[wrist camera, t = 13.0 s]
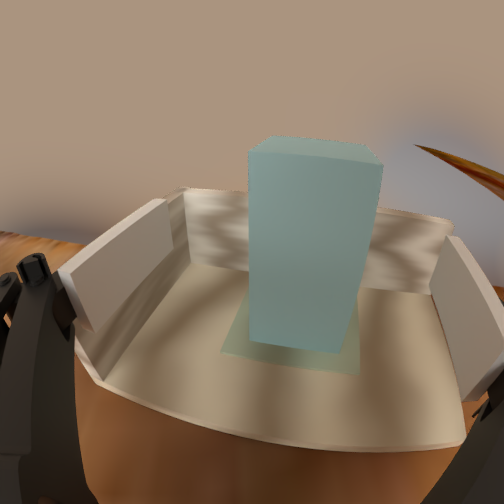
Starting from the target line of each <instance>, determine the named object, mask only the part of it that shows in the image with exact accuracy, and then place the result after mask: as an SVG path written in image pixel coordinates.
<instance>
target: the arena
mask: <svg viewBox="0 0 504 504" xmlns="http://www.w3.org/2000/svg"><path fill="white" fill-rule="evenodd" d="M162 199H167V203H168V211H169V219H170V226H171V234H172V241H173V247H174V249H173V250H172V251H171V252H170V253H169V254H168V255H167V256H166V257H165V258H164V259H163V260H162V261H161V262H160V263H159V264H158V265H157V266H156V267H155V268H154V270H153V271H152V272H151V273H150V274H149V275H148V276H147V277H146V278H145V279H144V280H143V281H142V282H141V283H140V285H139V286H138V287H137V288H136V289H135V290H134V291H133V292H132V293H131V294H130V295H129V297H128V298H127V299H126V300H125V301H124V302H123V303H122V304H121V305H120V307H119V308H118V309H117V310H116V311H115V312H114V313H113V314H112V316H111V317H110V318H109V319H108V320H107V321H106V322H105V324H104V325H103V326H102V327H101V328H100V329H99V330H98V332H97V333H96V334H94V333H92V332H90V331H88V330H85V329H83V328H82V326H81V324H80V322H79V320H78V318H77V317H76V318H75V320H74V321H73V324H74V326H75V348H74V351H75V352H76V354H77V356H78V357H79V359H80V360H81V362H82V364H83V365H84V367H85V368H86V370H87V371H88V373H89V374H90V376H91V377H92V379H93V380H94V382H95V383H96V384H97V385H99V386H101V387H103V388H105V389H107V390H109V391H111V392H114V393H116V394H118V395H120V396H122V397H124V398H127V399H129V400H131V401H134V402H136V403H138V404H141V405H143V406H146V407H148V408H151V409H153V410H156V411H159V412H161V413H164V414H167V415H169V416H172V417H175V418H178V419H181V420H184V421H187V422H190V423H193V424H196V425H200V426H203V427H206V428H210V429H213V430H217V431H221V432H225V433H229V434H233V435H237V436H241V437H245V438H250V439H255V440H260V441H265V442H270V443H276V444H282V445H288V446H295V447H302V448H310V449H320V450H331V451H346V452H408V451H422V450H433V449H441V448H449V447H456V446H459V445H460V444H462V443H463V442H464V440H465V439H466V437H467V436H466V429H465V422H464V416H463V410H462V405H461V399H460V394H459V390H458V385H457V381H456V376H455V372H454V368H453V364H452V361H451V357H450V353H449V350H448V346H447V343H446V339H445V336H444V333H443V330H442V327H441V324H440V321H439V318H438V315H437V312H436V309H435V306H434V303H433V301H432V298H431V291H430V288H429V282H430V280H431V277H432V275H433V272H434V269H435V266H436V263H437V261H438V258H439V255H440V252H441V249H442V246H443V242H444V239H445V236H446V235H451V236H452V233H453V230H454V227H455V226H454V224H453V223H452V222H451V221H450V220H448V219H443V218H438V217H432V216H427V215H422V214H416V213H411V212H405V211H399V210H393V209H386V208H380V207H377V210H376V216H375V221H374V226H373V231H372V236H371V241H370V245H369V250H368V254H367V258H366V263H365V267H364V271H363V275H362V279H361V283H360V286H359V290H358V294H357V298H356V301H355V305H354V308H353V312H352V315H351V318H350V322H349V325H348V328H347V331H346V334H345V337H344V341H343V344H342V347H341V350H340V353H339V354H336V353H327V352H319V351H312V350H305V349H298V348H291V347H285V346H279V345H273V344H267V343H261V342H256V341H250V340H249V221H248V192H240V191H226V190H211V189H191V188H190V187H178V188H176V189H175V190H174V191H172V192H170V193H169V194H168V195H166V196H165V197H163V198H162Z"/></svg>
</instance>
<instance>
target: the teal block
mask: <svg viewBox="0 0 504 504" xmlns="http://www.w3.org/2000/svg"><path fill="white" fill-rule="evenodd" d="M382 173H383V164H382V163H381V162H380V161H379V160H378V158H377V157H376V156H375V155H374V154H373V153H372V152H371V151H370V149H369V148H368V147H367V146H366V145H361V144H353V143H347V142H339V141H330V140H321V139H311V138H300V137H286V136H271V137H270V138H268V139H267V140H265V141H263V142H262V143H260V144H259V145H257V146H256V147H254V148H253V149H251V150H249V151H248V221H249V340H250V341H256V342H261V343H267V344H273V345H279V346H285V347H291V348H298V349H305V350H312V351H319V352H327V353H336V354H339V353H340V350H341V347H342V344H343V341H344V337H345V334H346V331H347V328H348V325H349V322H350V318H351V315H352V312H353V308H354V305H355V301H356V298H357V294H358V290H359V286H360V283H361V279H362V275H363V271H364V267H365V263H366V258H367V254H368V250H369V245H370V241H371V236H372V231H373V226H374V221H375V216H376V210H377V205H378V199H379V193H380V187H381V180H382Z"/></svg>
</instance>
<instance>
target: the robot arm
mask: <svg viewBox="0 0 504 504" xmlns="http://www.w3.org/2000/svg"><path fill="white" fill-rule="evenodd" d="M173 249H174V247H173V241H172V234H171V226H170V219H169V211H168V203H167V199H153V200H151V201H150V202H149V203H147V204H145V205H144V206H142V207H141V208H139V209H138V210H136V211H135V212H134V213H132V214H131V215H129V216H128V217H126V218H125V219H123V220H122V221H120V222H119V223H118V224H116V225H115V226H113V227H112V228H111V229H109V230H108V231H106V232H105V233H104V234H102V235H101V236H100V237H98V238H97V239H96V240H94V241H93V242H92V243H90V244H89V245H88V246H86V247H85V248H84V249H82V250H81V251H80V252H79V253H77V254H76V255H75V256H73V257H72V258H71V259H70V260H68V261H67V262H66V263H65V264H64V265H62V266H61V267H60V268H59V269H57V271H56V272H54V273H53V274H51V272H50V269H49V266H48V264H47V261H46V258H45V255H44V254H43V253H34V254H31V255H29V256H27V257H25V258H23V259H22V260H21V261H20V262H19V263H18V264H17V266H16V267H17V269H18V271H19V274H20V276H21V279H22V281H23V283H20V281H19V278H18V276H17V274H16V273H15V272H10V273H5V274H3V275H2V276H1V277H0V504H98V502H97V500H96V498H95V496H94V495H93V494H92V492H91V491H90V490H89V488H88V486H87V483H86V479H85V474H84V469H83V464H82V458H81V451H80V444H79V437H78V428H77V418H76V405H75V383H74V348H75V326H74V324H73V321H74V320H75V318H76V317H77V318H78V320H79V322H80V324H81V326H82V328H83V329H85V330H88V331H90V332H92V333H94V334H96V333H97V332H98V330H99V329H100V328H101V327H102V326H103V325H104V324H105V322H106V321H107V320H108V319H109V318H110V317H111V316H112V314H113V313H114V312H115V311H116V310H117V309H118V308H119V307H120V305H121V304H122V303H123V302H124V301H125V300H126V299H127V298H128V297H129V295H130V294H131V293H132V292H133V291H134V290H135V289H136V288H137V287H138V286H139V285H140V283H141V282H142V281H143V280H144V279H145V278H146V277H147V276H148V275H149V274H150V273H151V272H152V271H153V270H154V268H155V267H156V266H157V265H158V264H159V263H160V262H161V261H162V260H163V259H164V258H165V257H166V256H167V255H168V254H169V253H170V252H171V251H172V250H173ZM429 288H430V291H431V293H432V296H433V299H434V302H435V305H436V307H437V310H438V313H439V316H440V320H441V323H442V326H443V329H444V332H445V336H446V339H447V343H448V346H449V350H450V354H451V357H452V361H453V365H454V370H455V374H456V378H457V383H458V388H459V393H460V398H461V402H467V401H477V400H478V399H479V398H480V397H481V396H482V395H483V394H484V393H485V392H486V391H487V392H488V396H489V398H488V399H487V400H486V401H485V403H484V404H483V405H482V406H481V407H480V408H479V409H478V410H477V411H476V412H475V413H474V414H473V415H472V417H473V418H474V417H475V416H476V415H477V414H478V416H477V418H476V420H475V422H474V424H473V426H472V428H471V430H470V432H469V433H468V435H467V437H466V439H465V440H464V442H463V444H462V446H461V447H460V449H459V450H458V452H457V454H456V455H455V457H454V458H453V460H452V462H451V463H450V465H449V466H448V468H447V469H446V470H445V472H444V473H443V475H442V476H441V478H440V479H439V480H438V482H437V483H436V484H435V486H434V487H433V488H432V490H431V491H430V492H429V493H428V495H427V496H426V497H425V498H424V500H423V501H422V502H421V503H420V504H504V302H503V301H502V300H501V299H500V298H499V297H498V296H497V294H496V292H495V291H494V289H493V287H492V286H491V284H490V282H489V281H488V279H487V277H486V276H485V274H484V273H483V271H482V269H481V268H480V266H479V265H478V263H477V262H476V261H475V259H474V258H473V256H472V254H471V253H470V252H469V250H468V249H467V247H466V246H465V244H464V243H463V242H462V240H461V239H460V238H459V237H455V236H451V235H446V236H445V239H444V242H443V246H442V249H441V252H440V255H439V258H438V261H437V263H436V266H435V269H434V272H433V275H432V277H431V280H430V282H429ZM5 314H7V315H8V317H9V319H10V321H11V322H12V323H11V326H10V328H9V327H8V325H7V324H6V322H5V320H4V319H3V317H4V316H5Z"/></svg>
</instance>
